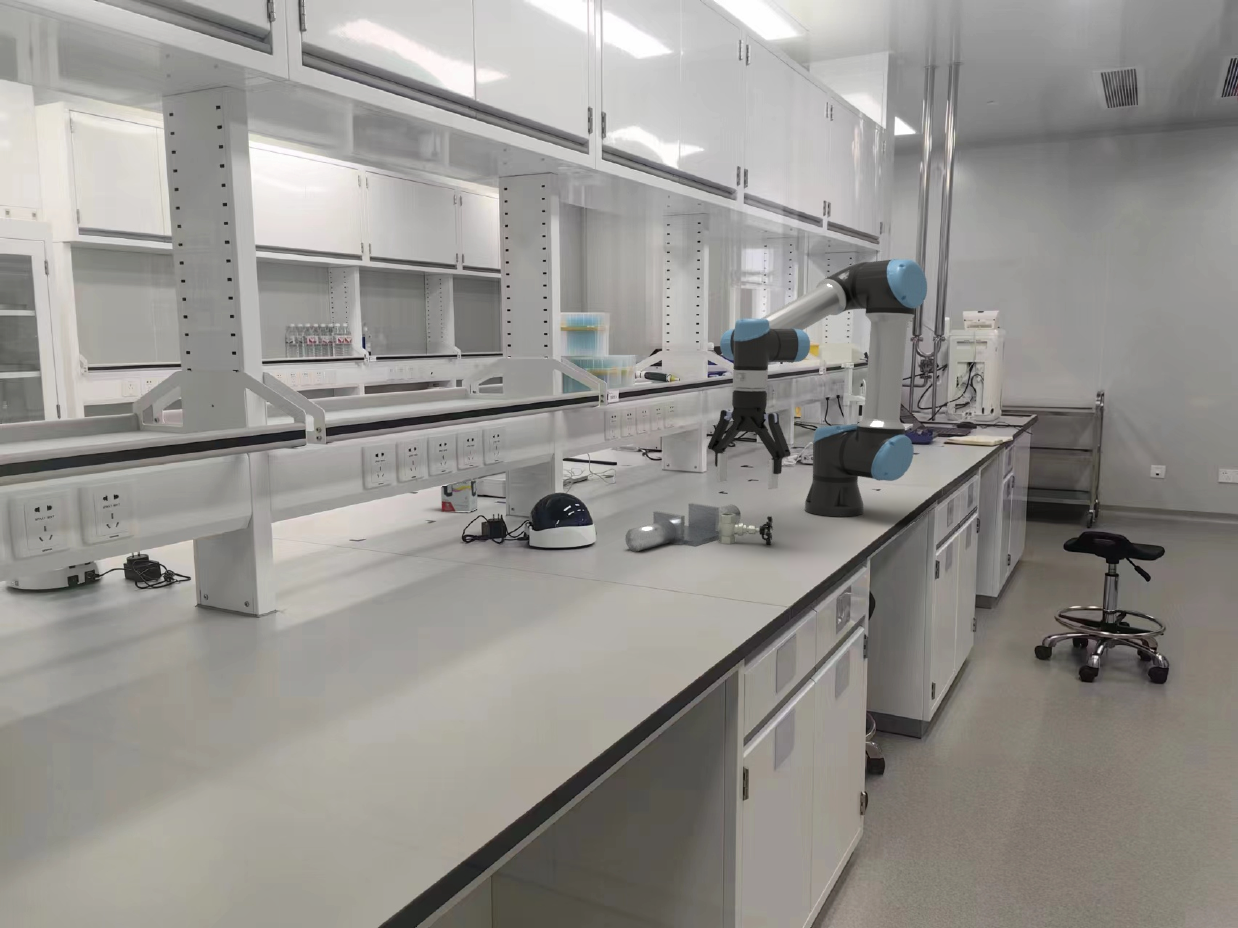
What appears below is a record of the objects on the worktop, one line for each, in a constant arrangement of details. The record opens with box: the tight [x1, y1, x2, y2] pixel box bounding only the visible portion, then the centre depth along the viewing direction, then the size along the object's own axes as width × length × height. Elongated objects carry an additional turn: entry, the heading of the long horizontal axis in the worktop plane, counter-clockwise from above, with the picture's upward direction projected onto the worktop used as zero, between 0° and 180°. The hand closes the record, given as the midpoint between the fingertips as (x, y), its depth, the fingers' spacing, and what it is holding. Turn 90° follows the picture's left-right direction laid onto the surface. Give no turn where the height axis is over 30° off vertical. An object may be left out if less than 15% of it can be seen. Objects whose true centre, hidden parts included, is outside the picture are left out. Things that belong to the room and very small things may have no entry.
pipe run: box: [624, 502, 742, 552], centre depth 204 cm, size 37×14×6 cm, turn 138°
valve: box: [718, 513, 774, 546], centre depth 198 cm, size 7×7×12 cm
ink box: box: [440, 479, 478, 512], centre depth 234 cm, size 9×5×12 cm, turn 73°
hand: (746, 485), depth 196 cm, fingers open, 13 cm apart
